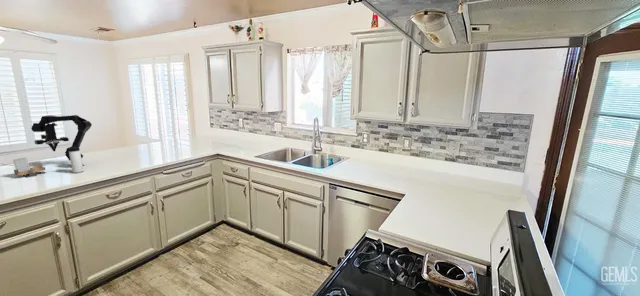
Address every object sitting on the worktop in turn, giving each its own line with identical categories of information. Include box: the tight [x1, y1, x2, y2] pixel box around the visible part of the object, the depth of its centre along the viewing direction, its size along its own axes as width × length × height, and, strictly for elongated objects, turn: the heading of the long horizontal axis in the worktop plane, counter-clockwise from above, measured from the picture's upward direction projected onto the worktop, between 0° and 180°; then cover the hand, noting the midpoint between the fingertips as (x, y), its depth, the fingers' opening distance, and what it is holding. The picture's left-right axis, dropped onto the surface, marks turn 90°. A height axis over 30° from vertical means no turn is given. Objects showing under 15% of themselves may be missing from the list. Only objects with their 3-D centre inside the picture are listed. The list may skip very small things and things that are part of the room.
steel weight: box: [12, 157, 31, 173], centre depth 198 cm, size 6×6×9 cm
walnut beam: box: [13, 165, 46, 176], centre depth 202 cm, size 14×8×4 cm, turn 147°
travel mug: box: [67, 145, 84, 174], centre depth 208 cm, size 6×7×20 cm
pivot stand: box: [16, 170, 47, 179], centre depth 203 cm, size 14×11×2 cm
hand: (54, 151), depth 220 cm, fingers closed
